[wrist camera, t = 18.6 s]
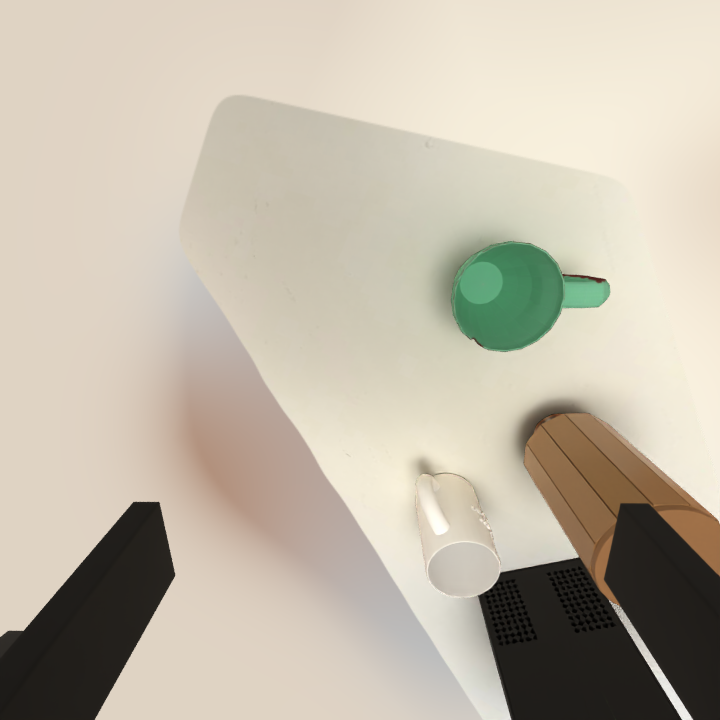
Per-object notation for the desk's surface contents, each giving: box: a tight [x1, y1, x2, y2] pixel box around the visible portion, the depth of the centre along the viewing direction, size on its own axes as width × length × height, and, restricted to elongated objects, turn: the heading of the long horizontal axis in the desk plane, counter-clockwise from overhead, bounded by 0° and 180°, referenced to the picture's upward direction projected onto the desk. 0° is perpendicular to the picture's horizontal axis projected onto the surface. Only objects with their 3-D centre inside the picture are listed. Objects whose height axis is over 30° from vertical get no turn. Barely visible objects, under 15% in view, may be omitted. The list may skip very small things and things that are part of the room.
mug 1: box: [415, 473, 501, 598], centre depth 49 cm, size 8×12×12 cm
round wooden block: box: [524, 413, 720, 606], centre depth 39 cm, size 10×10×16 cm
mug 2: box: [451, 241, 610, 352], centre depth 41 cm, size 15×10×10 cm
